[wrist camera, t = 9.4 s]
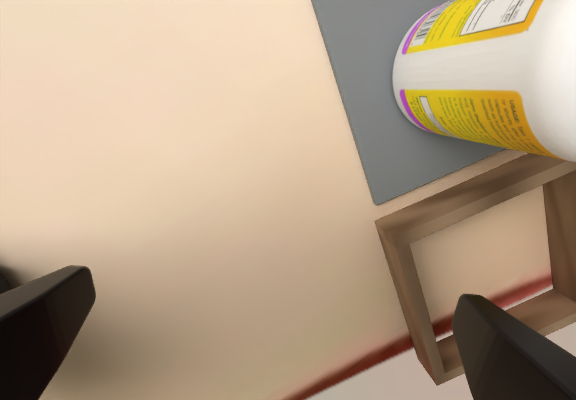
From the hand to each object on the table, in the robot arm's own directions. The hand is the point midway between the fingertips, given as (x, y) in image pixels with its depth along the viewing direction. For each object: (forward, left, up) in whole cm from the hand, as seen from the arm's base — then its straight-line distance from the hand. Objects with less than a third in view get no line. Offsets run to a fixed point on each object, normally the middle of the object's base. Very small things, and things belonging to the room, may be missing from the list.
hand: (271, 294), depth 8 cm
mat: (+13, +1, -12) cm, 17 cm away
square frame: (+13, -12, -12) cm, 21 cm away
